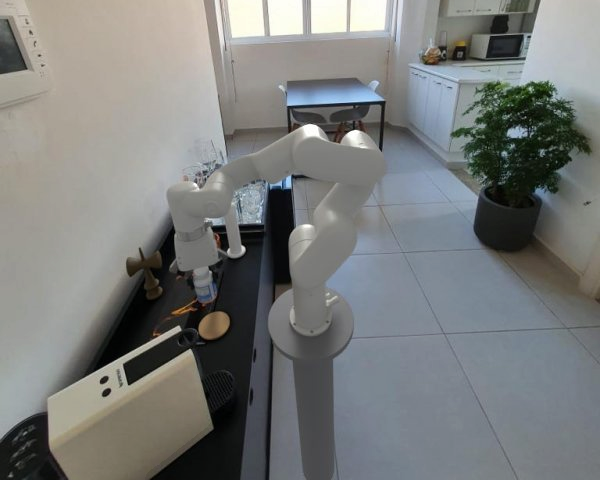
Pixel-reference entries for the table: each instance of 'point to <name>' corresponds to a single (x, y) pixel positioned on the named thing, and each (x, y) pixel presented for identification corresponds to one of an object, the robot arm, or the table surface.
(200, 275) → the pill bottle
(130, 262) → the kendama
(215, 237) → the pot
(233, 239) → the candle
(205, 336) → the coaster
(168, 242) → the table surface
